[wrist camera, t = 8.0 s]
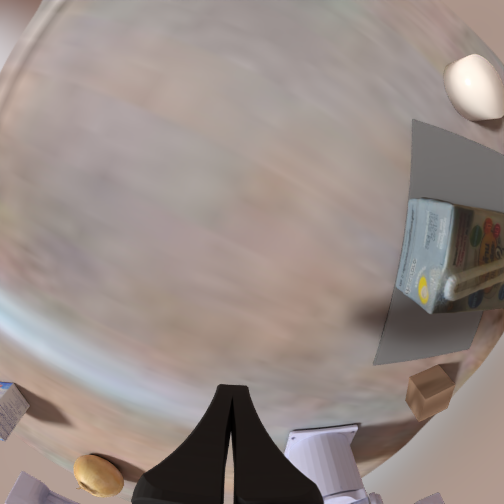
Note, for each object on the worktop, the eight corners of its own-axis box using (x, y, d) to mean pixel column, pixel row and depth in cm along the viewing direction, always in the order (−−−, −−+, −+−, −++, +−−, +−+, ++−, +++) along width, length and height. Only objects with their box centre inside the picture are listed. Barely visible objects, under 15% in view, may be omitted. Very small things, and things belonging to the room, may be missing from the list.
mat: (468, 348, 24) (469, 348, 24) (373, 364, 24) (373, 365, 23) (507, 157, 18) (508, 157, 18) (412, 119, 18) (413, 119, 18)
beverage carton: (405, 190, 19) (460, 199, 13) (523, 218, 20) (563, 231, 14) (390, 287, 21) (433, 324, 15) (510, 284, 22) (545, 305, 16)
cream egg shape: (485, 128, 18) (509, 127, 14) (445, 110, 18) (470, 105, 14) (480, 76, 16) (501, 70, 13) (439, 54, 16) (461, 43, 13)
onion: (129, 464, 28) (117, 500, 21) (125, 481, 30) (116, 512, 23) (79, 441, 27) (62, 475, 20) (81, 461, 29) (68, 491, 22)
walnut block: (432, 387, 25) (447, 407, 22) (405, 400, 26) (418, 422, 22) (437, 364, 24) (455, 384, 21) (409, 376, 25) (425, 399, 21)
